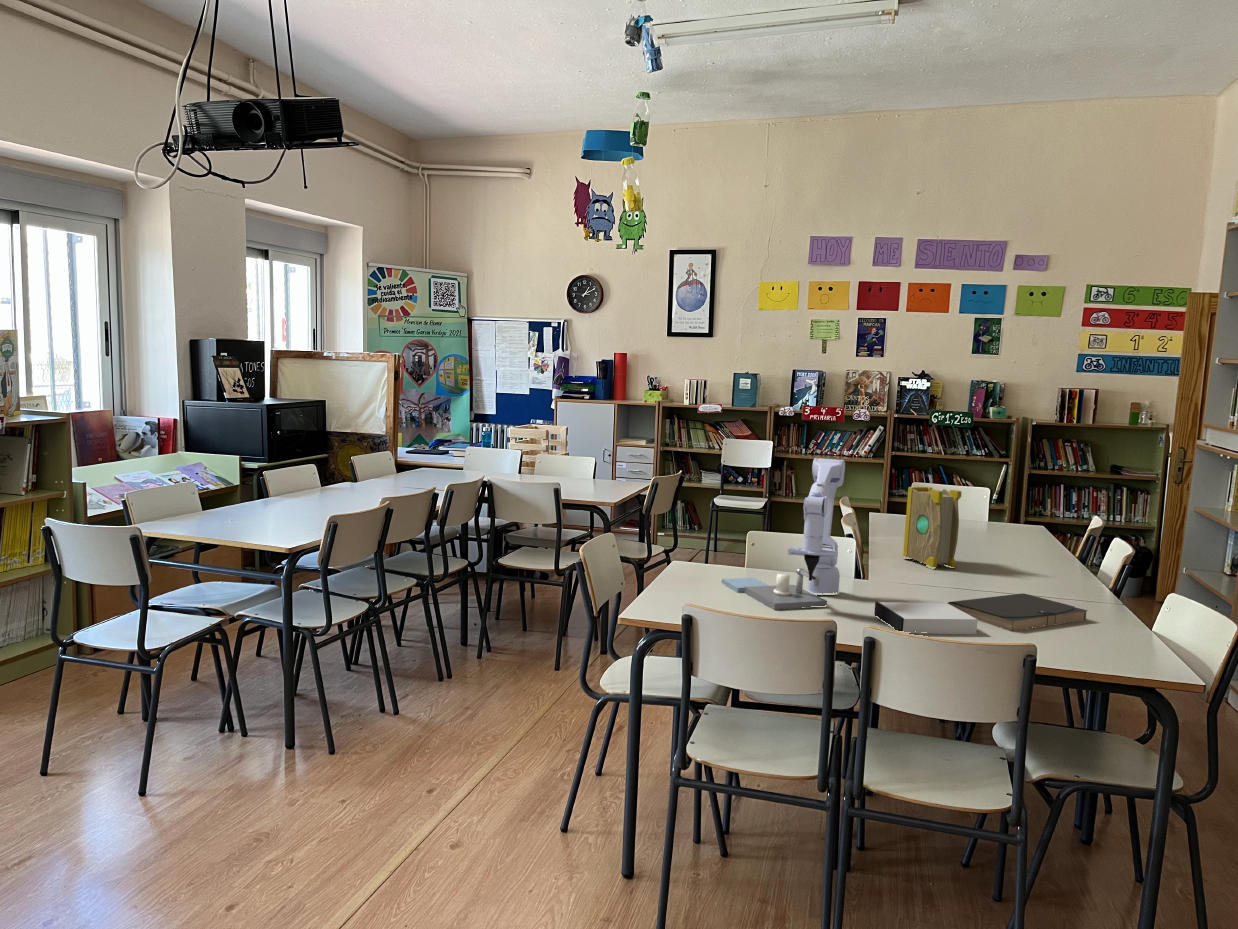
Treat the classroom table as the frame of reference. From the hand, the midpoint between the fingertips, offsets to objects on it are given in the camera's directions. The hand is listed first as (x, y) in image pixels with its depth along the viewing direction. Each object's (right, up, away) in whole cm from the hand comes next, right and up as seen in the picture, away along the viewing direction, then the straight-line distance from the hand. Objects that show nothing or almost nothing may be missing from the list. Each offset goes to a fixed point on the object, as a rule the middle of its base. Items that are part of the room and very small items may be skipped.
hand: (810, 579), depth 255 cm
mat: (-16, -6, +23) cm, 29 cm away
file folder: (+63, -12, +2) cm, 64 cm away
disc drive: (+30, -12, -13) cm, 35 cm away
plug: (-7, -8, +8) cm, 13 cm away
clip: (0, -1, +5) cm, 5 cm away
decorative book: (+63, -4, +72) cm, 95 cm away
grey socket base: (-6, -8, +9) cm, 13 cm away
